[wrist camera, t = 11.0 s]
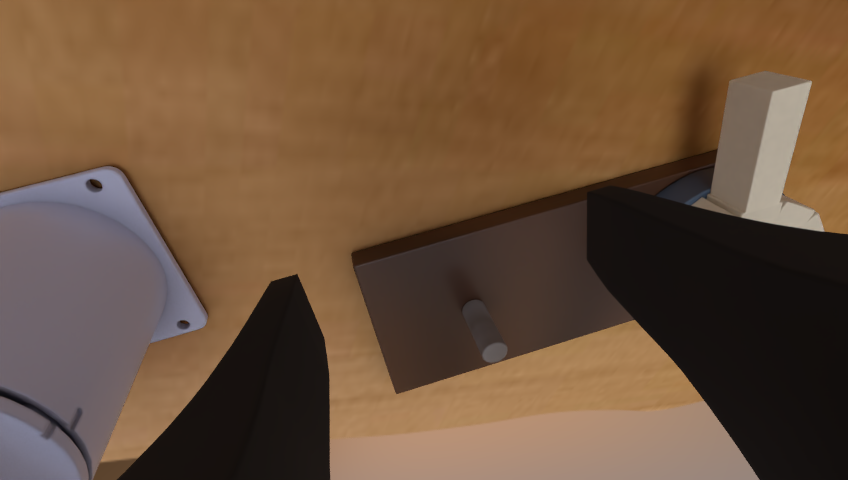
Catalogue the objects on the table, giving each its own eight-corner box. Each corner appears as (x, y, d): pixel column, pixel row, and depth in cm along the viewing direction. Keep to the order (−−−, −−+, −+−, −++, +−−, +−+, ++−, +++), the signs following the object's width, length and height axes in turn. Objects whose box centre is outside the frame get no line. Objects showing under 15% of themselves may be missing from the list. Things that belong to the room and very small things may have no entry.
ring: (633, 340, 24) (657, 367, 23) (654, 100, 18) (691, 113, 16) (766, 297, 25) (799, 321, 24) (836, 51, 18) (891, 59, 17)
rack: (392, 378, 26) (413, 477, 21) (350, 252, 21) (365, 340, 16) (740, 270, 28) (837, 336, 23) (773, 133, 23) (903, 178, 18)
